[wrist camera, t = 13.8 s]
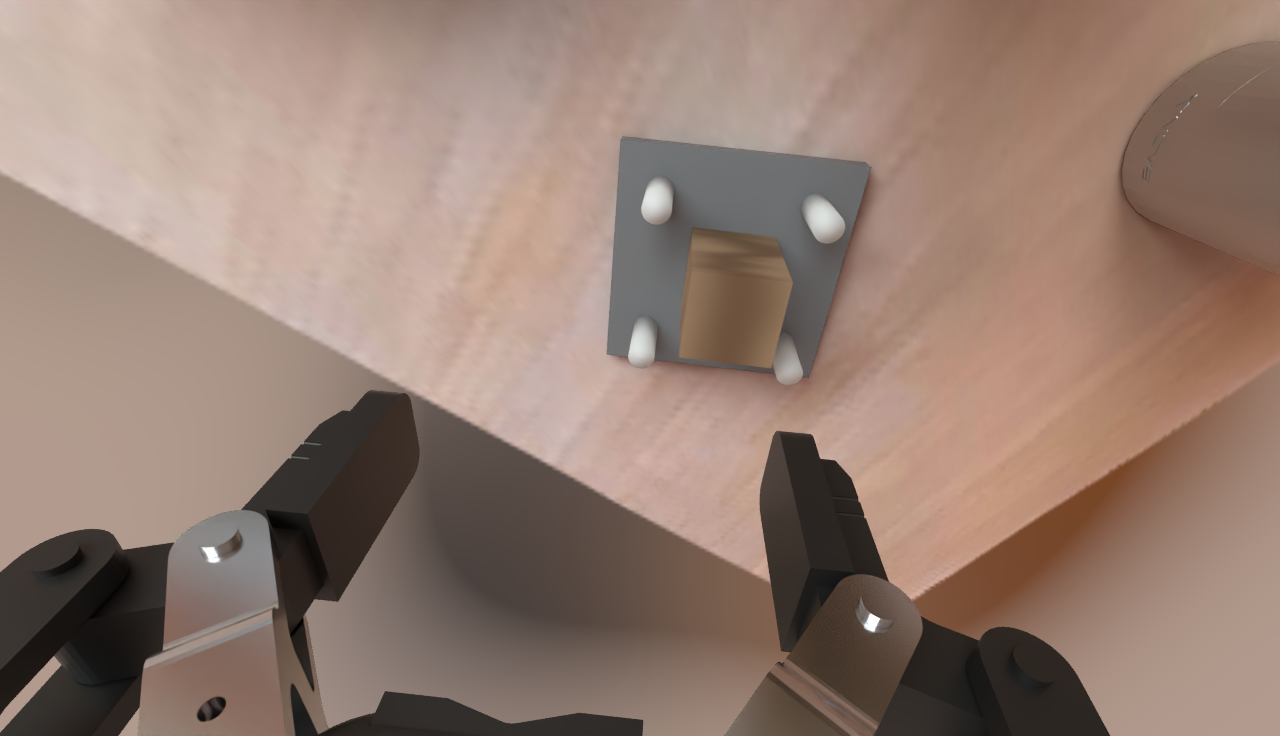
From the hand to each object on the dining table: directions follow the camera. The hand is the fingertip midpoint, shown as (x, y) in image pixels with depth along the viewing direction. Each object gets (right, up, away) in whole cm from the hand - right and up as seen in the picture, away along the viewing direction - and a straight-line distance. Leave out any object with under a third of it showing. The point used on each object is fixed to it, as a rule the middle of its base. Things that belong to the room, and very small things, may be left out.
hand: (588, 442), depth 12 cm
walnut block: (+6, +8, +22) cm, 25 cm away
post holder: (+6, +8, +23) cm, 26 cm away
